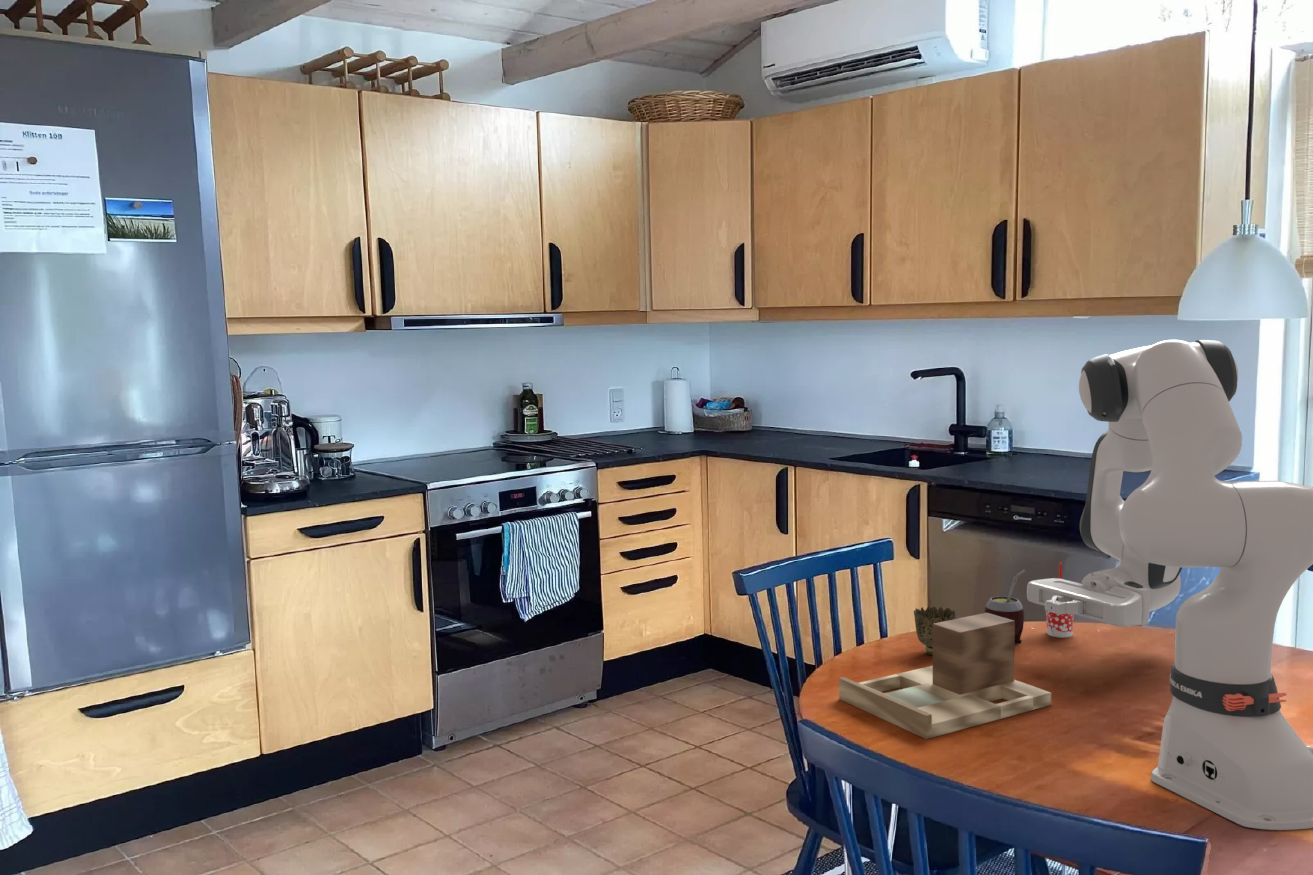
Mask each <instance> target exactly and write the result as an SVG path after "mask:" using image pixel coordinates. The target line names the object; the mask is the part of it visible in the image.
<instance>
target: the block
mask: <svg viewBox="0 0 1313 875" xmlns="http://www.w3.org/2000/svg"><path fill="white" fill-rule="evenodd" d="M1015 644H1016V643H1015V621H1014V620H1010V619H1007V618H1004V617H1000V616H997V615H993V614H990V613H985V612H984V613H978V614H972V615H968V616H963V617H958V618H955V619H953V620H948V621H944V622H939V623H934V624H933V655H932V666H933V684H934V685H936V686H939V687H941V688H944V689H946V690H949V691H951V692H954V693H957V694H959V695H961V694H965V693H969V692H973V691H977V690H980V689H984V688H988V687H992V686H996V685H1000V684H1004V683H1008V682H1012V681H1014V680H1015V648H1016V646H1015Z"/></svg>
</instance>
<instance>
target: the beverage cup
mask: <svg viewBox="0 0 1313 875" xmlns="http://www.w3.org/2000/svg"><path fill="white" fill-rule="evenodd" d="M1062 564H1063V562H1059V563H1058V565H1059V566H1058V578H1059V579H1063V578H1062V576H1063V573H1062V571H1063V566H1062ZM1074 618H1075V614H1066V613H1065V614H1061V615H1059V614H1056V613H1052V612H1049V611H1046V610H1045V619H1046V621H1045V622H1046V634H1047V635H1048V636H1050V637H1052V638H1053V637H1054V638H1062V639H1063V638H1065V639H1066V638H1071V637H1072V636H1073V633H1074V632H1073V631H1074V630H1073V629H1074Z"/></svg>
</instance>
